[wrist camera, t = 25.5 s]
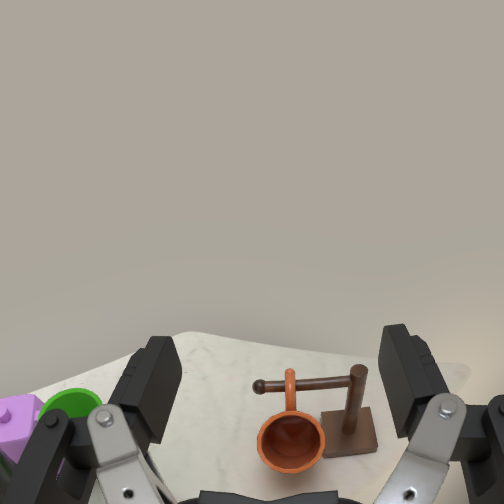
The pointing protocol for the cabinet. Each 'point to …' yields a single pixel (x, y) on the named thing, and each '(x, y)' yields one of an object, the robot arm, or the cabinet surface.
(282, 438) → the mug
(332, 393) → the cabinet surface
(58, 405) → the cup
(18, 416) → the teapot
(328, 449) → the mug stand
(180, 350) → the cabinet surface
